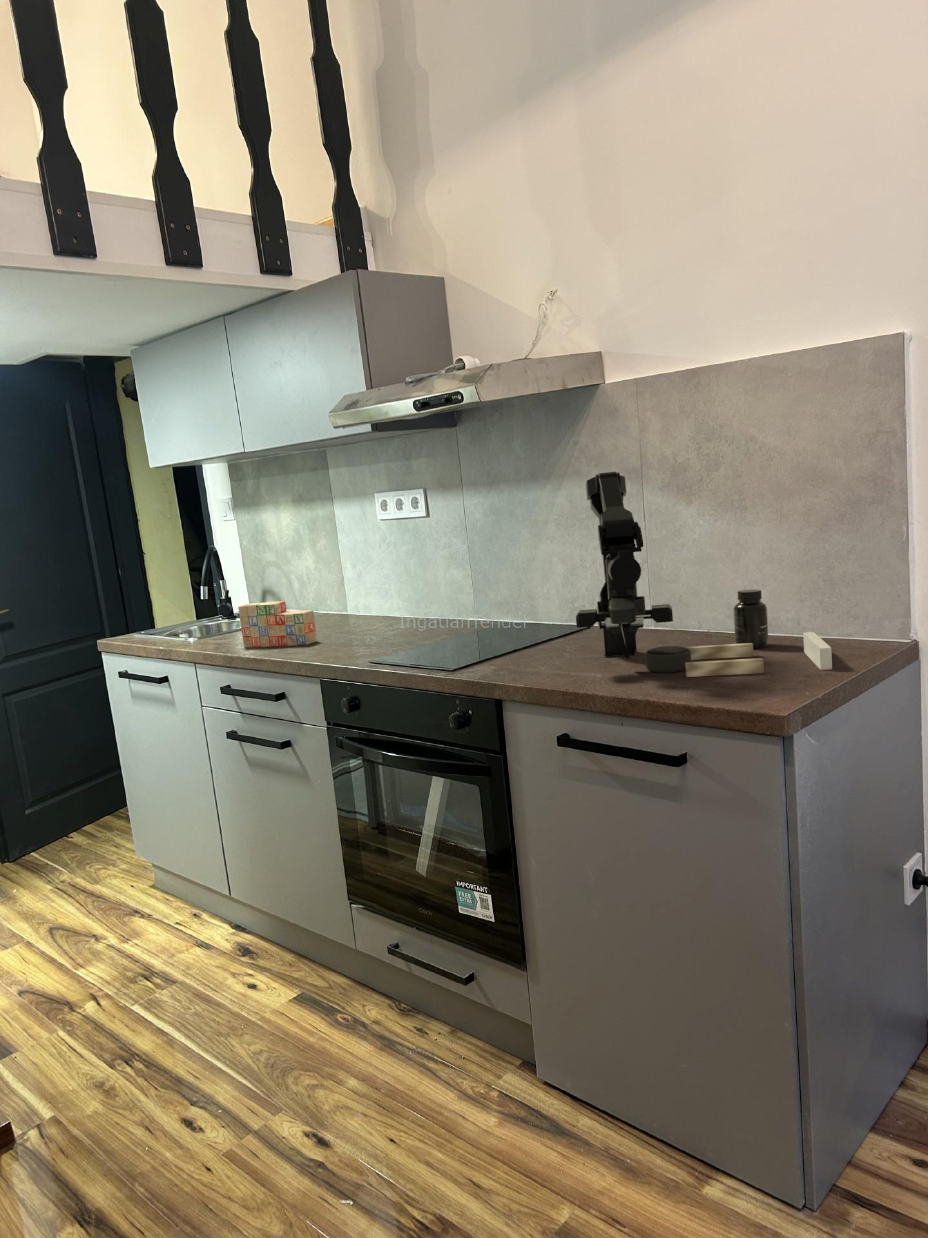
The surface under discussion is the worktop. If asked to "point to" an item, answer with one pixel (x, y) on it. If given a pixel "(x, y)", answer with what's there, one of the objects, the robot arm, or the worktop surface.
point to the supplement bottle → (751, 619)
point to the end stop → (817, 650)
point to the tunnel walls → (723, 665)
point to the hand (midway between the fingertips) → (627, 658)
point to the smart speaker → (667, 659)
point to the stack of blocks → (276, 625)
